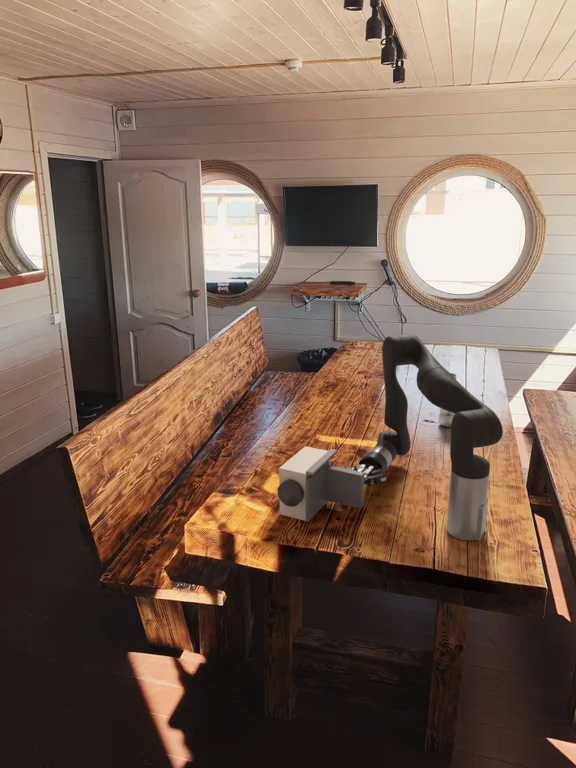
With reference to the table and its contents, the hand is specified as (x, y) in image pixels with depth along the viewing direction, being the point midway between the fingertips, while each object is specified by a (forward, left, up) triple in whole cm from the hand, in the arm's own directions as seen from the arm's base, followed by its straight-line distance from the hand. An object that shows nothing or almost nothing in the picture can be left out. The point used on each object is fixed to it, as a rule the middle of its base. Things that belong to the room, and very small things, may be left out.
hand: (353, 486), depth 167 cm
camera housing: (+12, +4, -7) cm, 15 cm away
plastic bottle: (-8, -74, -7) cm, 74 cm away
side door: (+3, +7, -6) cm, 9 cm away
